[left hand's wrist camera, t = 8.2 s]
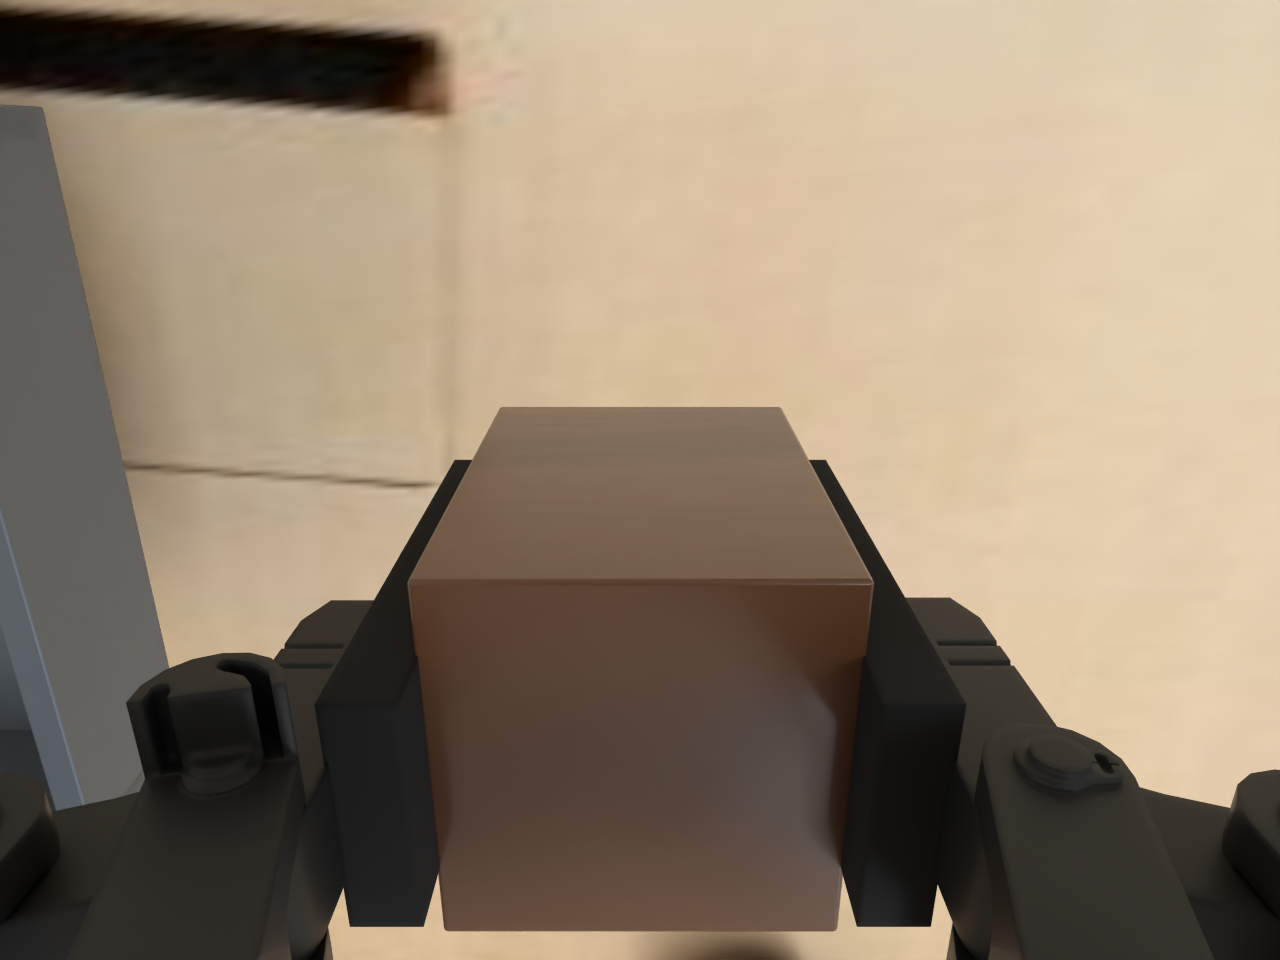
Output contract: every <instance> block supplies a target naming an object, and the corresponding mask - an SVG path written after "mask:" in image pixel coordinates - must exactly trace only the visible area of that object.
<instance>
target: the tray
mask: <svg viewBox="0 0 1280 960" xmlns="http://www.w3.org/2000/svg"><path fill="white" fill-rule="evenodd" d="M166 669H169V665H168V660H167V656H166V651H165V647H164V642H163V638H162V634H161V629H160V625H159V620H158V616H157V612H156V607H155V603H154V598H153V594H152V589H151V585H150V581H149V576H148V572H147V567H146V563H145V558H144V554H143V550H142V545H141V541H140V536H139V532H138V527H137V523H136V519H135V514H134V510H133V505H132V501H131V496H130V492H129V488H128V483H127V479H126V474H125V470H124V466H123V461H122V457H121V452H120V448H119V443H118V439H117V435H116V430H115V426H114V421H113V417H112V412H111V408H110V404H109V399H108V395H107V390H106V386H105V381H104V377H103V373H102V368H101V364H100V359H99V355H98V350H97V346H96V342H95V337H94V333H93V328H92V324H91V320H90V315H89V311H88V306H87V302H86V297H85V293H84V289H83V284H82V280H81V275H80V271H79V266H78V262H77V258H76V253H75V249H74V244H73V240H72V235H71V231H70V227H69V222H68V218H67V213H66V209H65V204H64V200H63V196H62V191H61V187H60V182H59V178H58V174H57V169H56V165H55V160H54V156H53V151H52V147H51V143H50V138H49V134H48V129H47V125H46V120H45V116H44V112H43V109H42V108H41V107H36V106H17V105H0V774H6V773H8V774H14V775H20V776H26V777H31V778H33V779H34V780H35V781H36V782H37V783H39V784H40V785H41V786H42V787H43V788H44V789H45V792H46V796H47V799H48V802H49V805H50V809H51V812H53V811H57V810H62V809H67V808H71V807H76V806H81V805H86V804H90V803H95V802H100V801H104V800H109V799H114V798H118V797H122V796H126V795H129V794H133V793H136V792H139V791H140V789H141V787H142V785H143V782H144V780H145V776H144V772H143V769H142V765H141V761H140V757H139V753H138V749H137V745H136V741H135V737H134V733H133V729H132V725H131V721H130V717H129V713H128V709H127V705H126V702H127V701H128V699H129V698H130V697H131V696H132V695H133V694H134V692H135V691H136V690H137V689H138V688H139V687H140V685H142V684H144V683H145V682H147V681H148V680H150V679H151V678H153V677H155V676H156V675H158V674H159V673H161V672H162V671H164V670H166Z"/></svg>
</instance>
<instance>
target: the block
mask: <svg viewBox="0 0 1280 960" xmlns="http://www.w3.org/2000/svg"><path fill="white" fill-rule="evenodd" d="M407 584H408V594H409V603H410V612H411V622H412V631H413V641H414V650H415V656H418V665H419V675H420V684H421V694H422V703H423V713H424V722H425V732H426V741H427V751H428V760H429V770H430V779H431V789H432V798H433V808H434V817H435V827H436V837H437V846H438V856H439V865H440V869H439V872H438V876H439V885H440V895H441V904H442V913H443V923H444V929H445V930H446V931H835V930H836V929H837V925H838V916H839V907H840V897H841V888H842V879H843V874H842V870H841V863H842V853H843V844H844V834H845V825H846V815H847V806H848V796H849V787H850V777H851V768H852V758H853V749H854V739H855V730H856V720H857V711H858V701H859V692H860V682H861V673H862V663H863V656H866V653H867V644H868V635H869V625H870V616H871V606H872V597H873V588H874V582H873V579H872V578H871V576H870V574H869V572H868V570H867V568H866V566H865V564H864V563H863V561H862V559H861V557H860V555H859V553H858V551H857V549H856V548H855V546H854V544H853V542H852V540H851V538H850V536H849V534H848V533H847V531H846V529H845V527H844V525H843V523H842V521H841V519H840V518H839V516H838V514H837V512H836V510H835V508H834V506H833V504H832V503H831V501H830V499H829V497H828V495H827V493H826V491H825V489H824V488H823V486H822V484H821V482H820V480H819V478H818V476H817V474H816V473H815V471H814V469H813V467H812V465H811V463H810V461H809V459H808V458H807V456H806V454H805V452H804V450H803V448H802V446H801V445H800V443H799V441H798V439H797V437H796V435H795V433H794V431H793V430H792V428H791V426H790V424H789V422H788V420H787V418H786V416H785V415H784V413H783V411H782V409H781V408H780V407H502V408H500V409H499V411H498V413H497V415H496V417H495V419H494V420H493V422H492V424H491V426H490V428H489V430H488V432H487V434H486V435H485V437H484V439H483V441H482V443H481V445H480V447H479V449H478V451H477V452H476V454H475V456H474V458H473V460H472V462H471V464H470V466H469V467H468V469H467V471H466V473H465V475H464V477H463V479H462V481H461V482H460V484H459V486H458V488H457V490H456V492H455V494H454V496H453V497H452V499H451V501H450V503H449V505H448V507H447V509H446V511H445V512H444V514H443V516H442V518H441V520H440V522H439V524H438V526H437V527H436V529H435V531H434V533H433V535H432V537H431V539H430V541H429V542H428V544H427V546H426V548H425V550H424V552H423V554H422V556H421V558H420V559H419V561H418V563H417V565H416V567H415V569H414V571H413V573H412V574H411V576H410V578H409V580H408V583H407Z"/></svg>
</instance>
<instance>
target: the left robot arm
mask: <svg viewBox="0 0 1280 960" xmlns="http://www.w3.org/2000/svg"><path fill="white" fill-rule="evenodd" d="M809 461H810V463H811V465H812V467H813V469H814V471H815V473H816V474H817V476H818V478H819V480H820V482H821V484H822V486H823V488H824V489H825V491H826V493H827V495H828V497H829V499H830V501H831V503H832V504H833V506H834V508H835V510H836V512H837V514H838V516H839V518H840V519H841V521H842V523H843V525H844V527H845V529H846V531H847V533H848V534H849V536H850V538H851V540H852V542H853V544H854V546H855V548H856V549H857V551H858V553H859V555H860V557H861V559H862V561H863V563H864V564H865V566H866V568H867V570H868V572H869V574H870V576H871V578H872V579H873V582H874V588H873V597H872V606H871V616H870V625H869V635H868V644H867V653H866V656H863V663H862V673H861V682H860V692H859V701H858V711H857V720H856V730H855V739H854V749H853V758H852V768H851V777H850V787H849V796H848V806H847V815H846V825H845V834H844V844H843V853H842V863H841V870H842V874H843V877H844V881H845V884H846V888H847V892H848V895H849V899H850V903H851V906H852V910H853V914H854V917H855V921H856V925H857V927H931V922H932V916H933V909H934V903H935V897H936V891H937V884H938V886H939V889H940V891H941V894H942V896H943V899H944V901H945V904H946V906H947V909H948V911H949V914H950V916H951V919H952V921H953V924H952V930H951V935H950V941H949V947H948V953H947V959H946V960H1280V770H1269V771H1263V772H1257V773H1251V774H1250V775H1248V776H1247V777H1246V778H1245V779H1244V780H1242V781H1241V782H1240V783H1239V784H1238V785H1237V788H1236V792H1235V795H1234V798H1233V801H1232V805H1231V808H1227V807H1223V806H1218V805H1213V804H1208V803H1204V802H1199V801H1194V800H1189V799H1185V798H1180V797H1175V796H1170V795H1166V794H1162V793H1158V792H1155V791H1151V790H1147V789H1144V788H1140V787H1139V785H1138V783H1137V781H1136V778H1135V777H1134V775H1133V774H1132V773H1131V771H1130V770H1129V769H1128V767H1127V766H1126V764H1125V763H1124V762H1123V760H1122V759H1121V758H1119V757H1118V756H1117V755H1115V754H1114V753H1113V752H1111V751H1110V750H1109V749H1107V748H1106V747H1105V746H1103V745H1102V744H1101V743H1099V742H1097V741H1095V740H1092V739H1090V738H1088V737H1086V736H1084V735H1081V734H1079V733H1077V732H1075V731H1072V730H1068V729H1064V728H1060V727H1057V726H1056V724H1055V723H1054V722H1053V720H1052V719H1051V717H1050V716H1049V715H1048V713H1047V712H1046V710H1045V709H1044V708H1043V706H1042V705H1041V703H1040V702H1039V700H1038V699H1037V698H1036V696H1035V695H1034V693H1033V692H1032V691H1031V689H1030V688H1029V686H1028V685H1027V684H1026V682H1025V681H1024V679H1023V678H1022V676H1021V675H1020V674H1019V672H1018V671H1017V669H1016V668H1015V667H1014V666H1011V664H1010V660H1009V658H1008V657H1007V655H1006V654H1005V652H1004V651H1003V650H1002V648H1001V647H1000V646H997V644H996V642H997V641H996V640H995V638H994V637H993V636H992V634H991V633H990V631H989V630H988V628H987V627H986V626H985V624H984V623H983V621H982V620H981V619H980V617H978V616H977V615H975V614H974V613H972V612H971V611H969V610H968V609H966V608H965V607H963V606H962V605H960V604H959V603H957V602H956V601H954V600H953V599H951V598H905V597H904V595H903V593H902V591H901V590H900V588H899V586H898V585H897V583H896V581H895V579H894V578H893V576H892V574H891V572H890V571H889V569H888V567H887V565H886V564H885V562H884V560H883V559H882V557H881V555H880V553H879V552H878V550H877V548H876V546H875V545H874V543H873V541H872V539H871V538H870V536H869V534H868V532H867V531H866V529H865V527H864V526H863V524H862V522H861V520H860V519H859V517H858V515H857V513H856V512H855V510H854V508H853V506H852V505H851V503H850V501H849V500H848V498H847V496H846V494H845V493H844V491H843V489H842V487H841V486H840V484H839V482H838V480H837V479H836V477H835V475H834V473H833V472H832V470H831V468H830V467H829V465H828V463H827V461H826V460H809ZM471 462H472V460H455V461H454V462H453V464H452V466H451V468H450V469H449V471H448V473H447V475H446V476H445V478H444V480H443V482H442V483H441V485H440V487H439V488H438V490H437V492H436V494H435V495H434V497H433V499H432V501H431V502H430V504H429V506H428V508H427V509H426V511H425V513H424V515H423V516H422V518H421V520H420V521H419V523H418V525H417V527H416V528H415V530H414V532H413V534H412V535H411V537H410V539H409V541H408V542H407V544H406V546H405V548H404V549H403V551H402V553H401V554H400V556H399V558H398V560H397V561H396V563H395V565H394V567H393V568H392V570H391V572H390V574H389V575H388V577H387V579H386V581H385V582H384V584H383V586H382V587H381V589H380V591H379V593H378V594H377V596H376V598H375V600H331V601H330V602H328V603H327V604H325V605H324V606H322V607H321V608H319V609H318V610H316V611H315V612H313V613H312V614H310V615H309V616H307V617H306V618H304V619H303V620H301V622H300V623H299V624H298V626H297V627H296V629H295V630H294V632H293V633H292V634H291V636H290V637H289V639H288V640H287V642H286V643H285V648H284V649H281V650H280V651H279V653H278V654H277V656H276V657H275V659H274V660H273V659H271V658H269V657H265V656H261V655H257V654H252V653H221V654H216V655H211V656H206V657H201V658H196V659H192V660H190V661H187V662H184V663H182V664H179V665H177V666H174V667H172V668H169V669H166V670H164V671H162V672H161V673H159V674H158V675H156V676H155V677H153V678H151V679H150V680H148V681H147V682H145V683H144V684H142V685H140V687H139V688H138V689H137V690H136V691H135V692H134V694H133V695H132V696H131V697H130V698H129V699H128V701H127V702H126V705H127V709H128V713H129V717H130V721H131V725H132V729H133V733H134V737H135V741H136V745H137V749H138V753H139V757H140V761H141V765H142V769H143V772H144V776H145V780H144V782H143V785H142V787H141V789H140V791H139V792H136V793H133V794H129V795H126V796H122V797H118V798H114V799H109V800H104V801H100V802H95V803H90V804H86V805H81V806H76V807H71V808H67V809H62V810H57V811H53V812H51V809H50V805H49V802H48V799H47V796H46V792H45V789H44V788H43V787H42V786H41V785H40V784H39V783H37V782H36V781H35V780H34V779H33V778H31V777H26V776H20V775H14V774H8V773H6V774H0V960H333V955H332V948H331V941H330V935H329V930H328V925H329V923H330V920H331V918H332V915H333V912H334V910H335V907H336V905H337V902H338V900H339V897H340V895H341V892H342V890H343V887H344V893H345V899H346V905H347V912H348V918H349V924H350V927H424V923H425V920H426V916H427V912H428V909H429V905H430V901H431V898H432V894H433V890H434V887H435V883H436V879H437V876H438V872H439V869H440V865H439V856H438V846H437V837H436V827H435V817H434V808H433V798H432V789H431V779H430V770H429V760H428V751H427V741H426V732H425V722H424V713H423V703H422V694H421V684H420V675H419V665H418V656H415V650H414V641H413V631H412V622H411V612H410V603H409V594H408V584H407V583H408V580H409V578H410V576H411V574H412V573H413V571H414V569H415V567H416V565H417V563H418V561H419V559H420V558H421V556H422V554H423V552H424V550H425V548H426V546H427V544H428V542H429V541H430V539H431V537H432V535H433V533H434V531H435V529H436V527H437V526H438V524H439V522H440V520H441V518H442V516H443V514H444V512H445V511H446V509H447V507H448V505H449V503H450V501H451V499H452V497H453V496H454V494H455V492H456V490H457V488H458V486H459V484H460V482H461V481H462V479H463V477H464V475H465V473H466V471H467V469H468V467H469V466H470V464H471Z"/></svg>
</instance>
